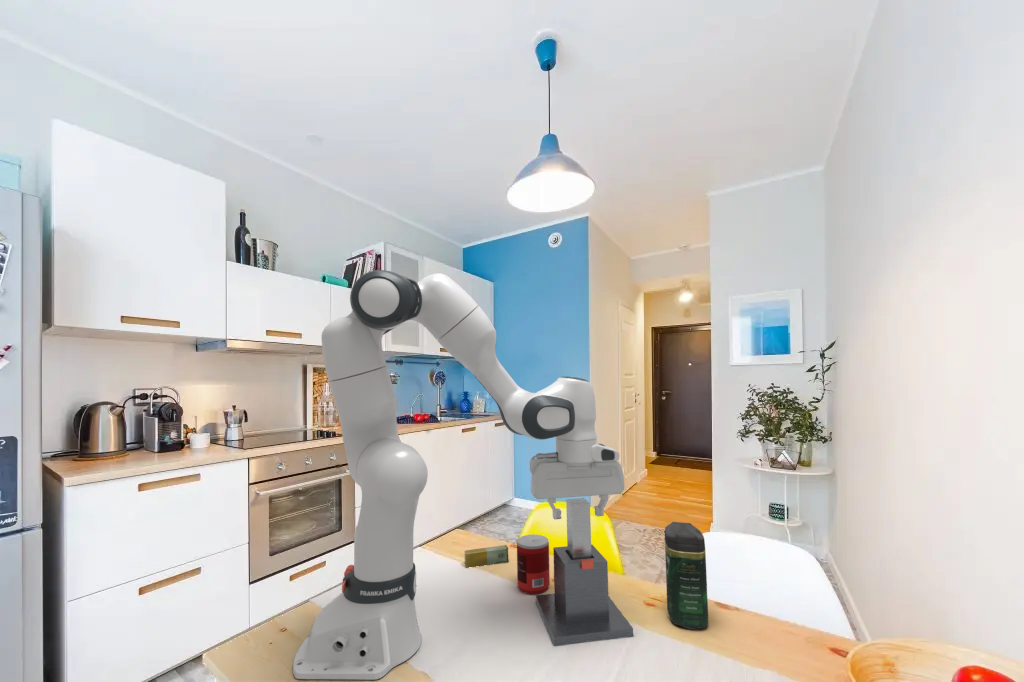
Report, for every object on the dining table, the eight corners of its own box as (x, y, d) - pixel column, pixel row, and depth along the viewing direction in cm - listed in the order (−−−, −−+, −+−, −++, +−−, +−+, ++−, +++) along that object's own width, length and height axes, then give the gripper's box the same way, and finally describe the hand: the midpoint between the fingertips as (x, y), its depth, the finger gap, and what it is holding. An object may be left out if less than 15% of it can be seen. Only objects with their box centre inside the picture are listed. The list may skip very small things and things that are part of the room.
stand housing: (553, 645, 81) (552, 570, 82) (535, 602, 97) (534, 539, 98) (633, 636, 83) (630, 563, 85) (603, 595, 99) (601, 533, 100)
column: (574, 614, 88) (571, 504, 90) (567, 603, 92) (565, 498, 94) (594, 612, 88) (590, 503, 90) (587, 601, 93) (584, 497, 94)
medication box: (506, 559, 120) (506, 544, 120) (509, 563, 117) (508, 547, 118) (464, 565, 117) (464, 549, 117) (465, 569, 114) (465, 553, 115)
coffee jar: (713, 633, 84) (708, 536, 85) (670, 628, 86) (666, 533, 87) (703, 607, 93) (699, 520, 95) (665, 603, 95) (661, 517, 97)
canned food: (555, 583, 105) (554, 537, 106) (539, 598, 98) (538, 548, 99) (528, 576, 109) (527, 531, 110) (511, 589, 102) (510, 542, 103)
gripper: (532, 456, 88) (534, 525, 87) (626, 451, 91) (628, 518, 90) (526, 451, 94) (527, 515, 93) (614, 447, 98) (616, 509, 96)
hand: (578, 517), depth 92 cm, fingers open, 8 cm apart
